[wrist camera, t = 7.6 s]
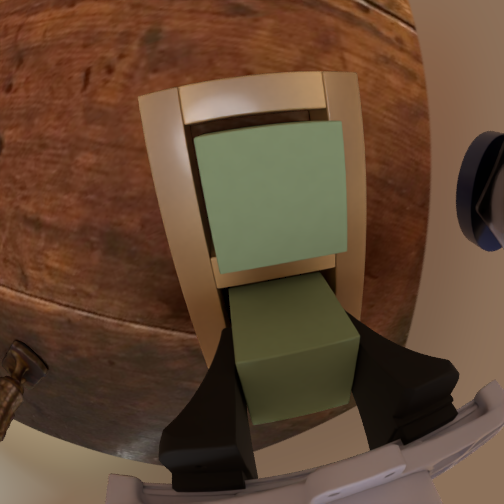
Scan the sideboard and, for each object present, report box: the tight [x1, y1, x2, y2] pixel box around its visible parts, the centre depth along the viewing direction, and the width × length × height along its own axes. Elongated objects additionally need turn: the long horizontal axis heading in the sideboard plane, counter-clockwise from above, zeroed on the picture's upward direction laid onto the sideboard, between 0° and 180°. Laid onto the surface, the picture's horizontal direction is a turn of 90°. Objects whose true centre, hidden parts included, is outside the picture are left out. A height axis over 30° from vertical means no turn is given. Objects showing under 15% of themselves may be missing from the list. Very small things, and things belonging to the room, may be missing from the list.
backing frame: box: [138, 71, 366, 369], centre depth 14 cm, size 9×16×2 cm, turn 8°
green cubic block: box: [194, 121, 347, 274], centre depth 11 cm, size 5×5×5 cm
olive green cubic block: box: [229, 272, 360, 425], centre depth 13 cm, size 5×5×5 cm
